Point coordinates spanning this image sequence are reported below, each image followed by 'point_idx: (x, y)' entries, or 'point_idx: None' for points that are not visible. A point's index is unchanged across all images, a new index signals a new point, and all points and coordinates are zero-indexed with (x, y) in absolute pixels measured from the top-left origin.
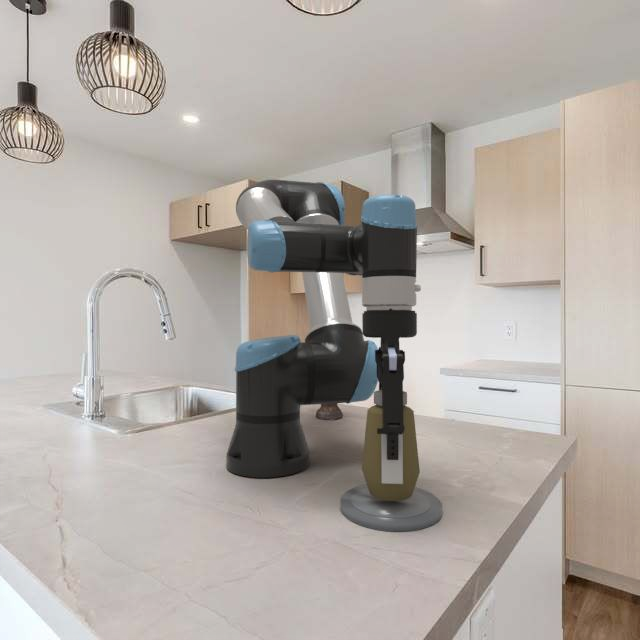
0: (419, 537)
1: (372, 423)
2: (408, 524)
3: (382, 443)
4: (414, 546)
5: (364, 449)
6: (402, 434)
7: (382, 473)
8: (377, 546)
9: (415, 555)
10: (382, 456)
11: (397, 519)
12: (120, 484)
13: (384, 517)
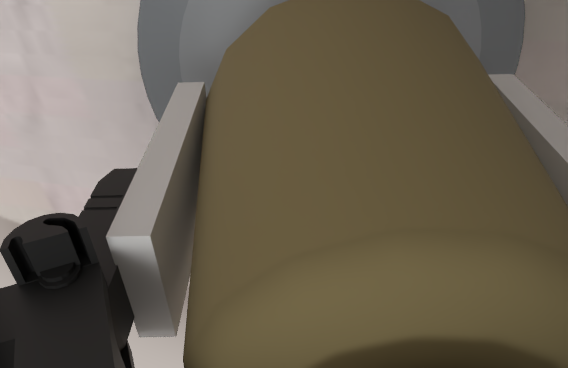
0: (134, 132)
1: (253, 206)
2: (158, 116)
3: (127, 195)
4: (75, 115)
5: (330, 37)
6: (141, 332)
7: (167, 105)
8: (32, 10)
9: (26, 114)
10: (148, 149)
11: (174, 87)
12: None
13: (180, 45)
